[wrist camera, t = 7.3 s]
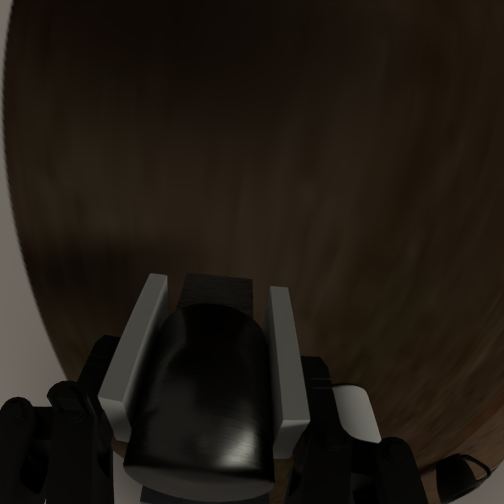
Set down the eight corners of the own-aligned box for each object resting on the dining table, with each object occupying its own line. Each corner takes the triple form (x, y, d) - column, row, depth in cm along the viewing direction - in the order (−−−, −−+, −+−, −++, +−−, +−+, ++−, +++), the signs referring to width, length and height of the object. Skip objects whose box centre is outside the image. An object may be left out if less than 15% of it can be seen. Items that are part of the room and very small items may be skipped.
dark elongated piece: (172, 257, 14) (107, 438, 6) (269, 267, 14) (290, 459, 6) (186, 475, 26) (179, 549, 18) (228, 479, 26) (226, 553, 18)
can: (332, 422, 31) (350, 516, 20) (292, 407, 29) (303, 514, 18) (378, 393, 29) (408, 492, 18) (340, 374, 27) (368, 491, 16)
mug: (473, 452, 45) (486, 484, 37) (427, 473, 46) (437, 507, 38) (483, 437, 41) (498, 472, 33) (433, 461, 43) (446, 499, 34)
